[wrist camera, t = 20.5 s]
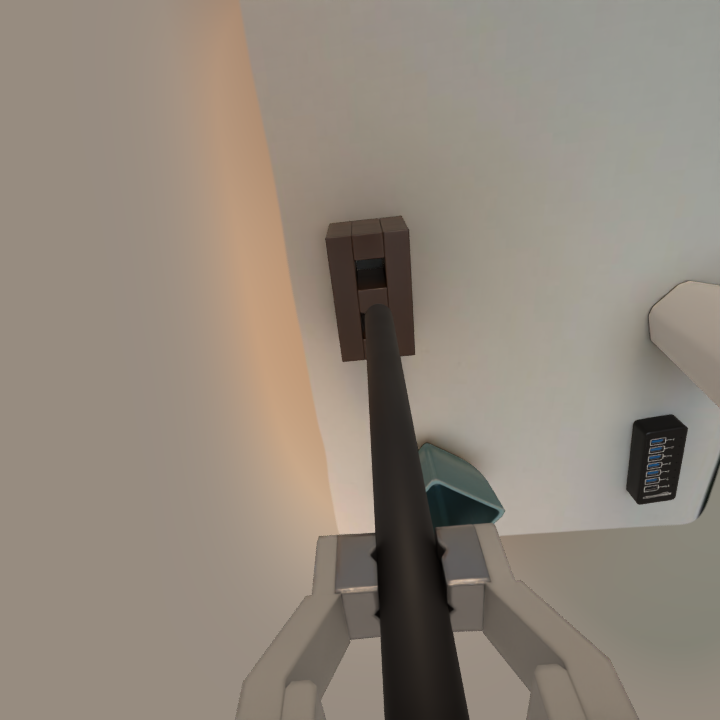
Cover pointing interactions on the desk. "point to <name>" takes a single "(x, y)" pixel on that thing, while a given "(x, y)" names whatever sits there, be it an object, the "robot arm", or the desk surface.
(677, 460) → the multiport hub
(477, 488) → the flower pot
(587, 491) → the desk surface
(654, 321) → the cup
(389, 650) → the stylus
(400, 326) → the pen stand
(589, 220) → the desk surface
